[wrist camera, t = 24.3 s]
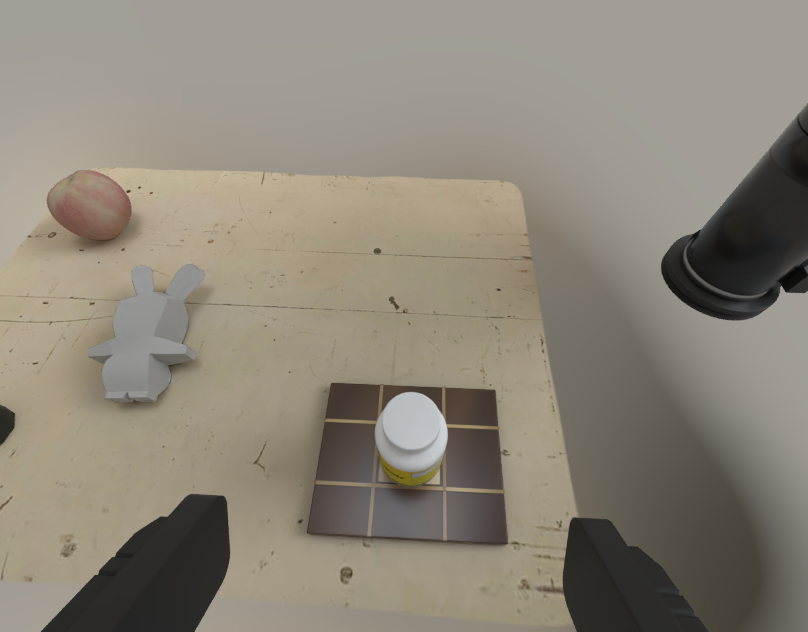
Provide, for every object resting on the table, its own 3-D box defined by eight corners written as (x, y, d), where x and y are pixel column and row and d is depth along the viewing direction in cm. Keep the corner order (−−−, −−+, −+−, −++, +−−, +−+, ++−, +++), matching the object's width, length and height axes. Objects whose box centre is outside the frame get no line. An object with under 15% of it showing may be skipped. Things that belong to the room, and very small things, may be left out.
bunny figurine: (60, 394, 35) (111, 254, 42) (99, 408, 40) (139, 280, 46) (168, 391, 35) (201, 252, 42) (195, 405, 40) (221, 278, 47)
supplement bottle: (369, 442, 35) (358, 401, 27) (423, 415, 37) (428, 368, 29) (396, 501, 33) (393, 475, 25) (452, 470, 34) (467, 436, 26)
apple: (123, 202, 55) (84, 150, 48) (157, 225, 53) (120, 173, 46) (68, 236, 52) (18, 185, 45) (101, 262, 49) (53, 212, 42)
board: (493, 393, 39) (495, 388, 38) (505, 545, 32) (508, 543, 31) (332, 386, 40) (330, 381, 39) (309, 534, 33) (306, 532, 32)
